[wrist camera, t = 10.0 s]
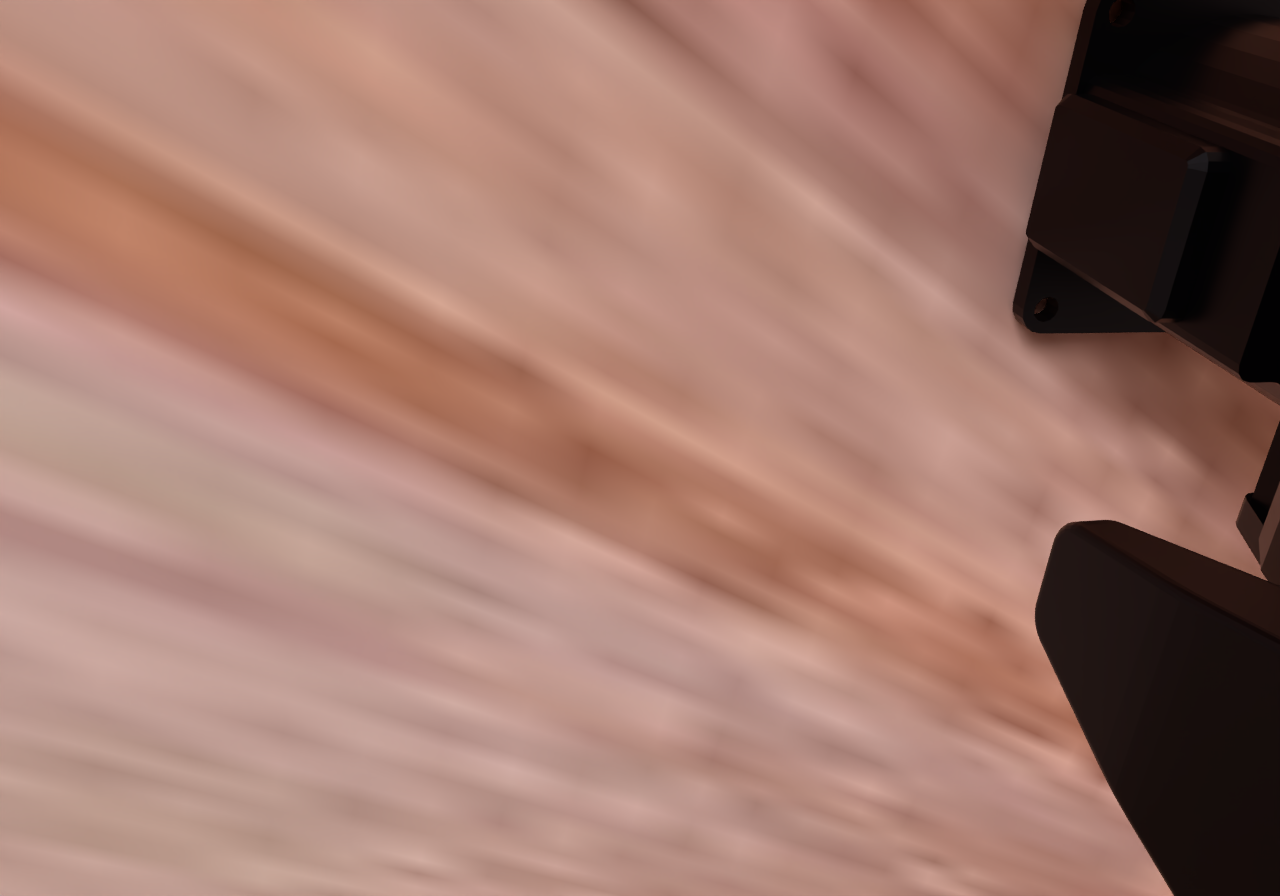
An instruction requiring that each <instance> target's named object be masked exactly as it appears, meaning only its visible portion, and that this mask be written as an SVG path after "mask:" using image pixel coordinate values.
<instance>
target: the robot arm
mask: <svg viewBox="0 0 1280 896" xmlns="http://www.w3.org/2000/svg"><path fill="white" fill-rule="evenodd" d="M1115 1H1116V0H1087V1H1086V4H1085V6H1084V10H1083V14H1082V18H1081V22H1080V26H1079V30H1078V35H1077V39H1076V43H1075V47H1074V51H1073V55H1072V60H1071V64H1070V68H1069V72H1068V76H1067V80H1066V85H1065V89H1064V93H1063V97H1062V100H1061V102H1060V103H1059V104H1058V105H1057V106H1056V108H1055V112H1054V116H1053V120H1052V125H1051V129H1050V133H1049V137H1048V141H1047V146H1046V150H1045V154H1044V158H1043V162H1042V167H1041V171H1040V175H1039V179H1038V183H1037V187H1036V192H1035V196H1034V200H1033V204H1032V208H1031V213H1030V217H1029V221H1028V225H1027V229H1026V235H1027V237H1028V243H1027V247H1026V251H1025V255H1024V259H1023V263H1022V268H1021V272H1020V276H1019V280H1018V284H1017V288H1016V293H1015V297H1014V301H1013V313H1014V316H1015V318H1016V319H1017V320H1018V321H1019V322H1020V323H1021V324H1023V325H1024V326H1025V327H1027V328H1028V329H1029V330H1031V331H1032V332H1036V333H1121V332H1167V333H1169V334H1170V335H1172V336H1173V337H1175V338H1176V339H1178V340H1180V341H1181V342H1183V343H1184V344H1186V345H1187V346H1189V347H1190V348H1192V349H1193V350H1195V351H1196V352H1198V353H1200V354H1201V355H1203V356H1204V357H1206V358H1207V359H1209V360H1210V361H1212V362H1213V363H1215V364H1217V365H1218V366H1220V367H1221V368H1223V369H1224V370H1226V371H1227V372H1229V373H1230V374H1232V375H1233V376H1235V377H1237V378H1238V379H1240V380H1241V381H1243V382H1244V383H1246V384H1247V385H1249V386H1250V387H1252V388H1254V389H1255V390H1257V391H1258V392H1260V393H1261V394H1263V395H1264V396H1266V397H1267V398H1269V399H1271V400H1272V401H1274V402H1275V403H1277V404H1278V405H1280V0H1122V11H1121V13H1120V15H1119V17H1118V18H1117V19H1116V20H1114V21H1113V22H1111V23H1110V21H1109V10H1110V8H1111V6H1112V4H1113V3H1114V2H1115ZM1047 297H1048V302H1047V304H1046V306H1045V308H1044V309H1043V310H1042V311H1041V312H1039V313H1036V314H1034V309H1035V307H1036V305H1037V303H1039V302H1040V301H1041V300H1042V299H1044V298H1047ZM1236 526H1237V528H1238V530H1239V531H1240V533H1241V535H1242V536H1243V538H1244V540H1245V541H1246V543H1247V544H1248V546H1249V548H1250V549H1251V551H1252V553H1253V554H1254V556H1255V558H1256V559H1257V561H1258V563H1259V564H1260V567H1261V571H1262V573H1263V574H1264V576H1265V577H1266V579H1267V580H1268V581H1266V580H1263V579H1261V578H1258V577H1256V576H1253V575H1251V574H1248V573H1246V572H1243V571H1241V570H1238V569H1236V568H1233V567H1231V566H1228V565H1226V564H1223V563H1221V562H1218V561H1216V560H1213V559H1211V558H1208V557H1206V556H1203V555H1201V554H1198V553H1196V552H1193V551H1190V550H1188V549H1185V548H1183V547H1180V546H1178V545H1175V544H1173V543H1170V542H1168V541H1165V540H1163V539H1160V538H1158V537H1155V536H1153V535H1150V534H1148V533H1145V532H1143V531H1140V530H1138V529H1135V528H1133V527H1130V526H1128V525H1125V524H1123V523H1120V522H1117V521H1112V520H1097V521H1080V522H1071V523H1068V524H1066V525H1065V526H1063V527H1062V528H1061V529H1060V530H1059V532H1058V533H1057V535H1056V537H1055V539H1054V542H1053V546H1052V549H1051V553H1050V556H1049V560H1048V563H1047V567H1046V571H1045V574H1044V578H1043V581H1042V585H1041V588H1040V592H1039V596H1038V599H1037V603H1036V608H1035V624H1036V629H1037V633H1038V636H1039V639H1040V641H1041V644H1042V646H1043V648H1044V650H1045V652H1046V654H1047V656H1048V658H1049V660H1050V663H1051V665H1052V667H1053V669H1054V671H1055V673H1056V675H1057V677H1058V680H1059V682H1060V684H1061V686H1062V688H1063V690H1064V692H1065V694H1066V697H1067V699H1068V701H1069V703H1070V705H1071V707H1072V709H1073V711H1074V713H1075V716H1076V718H1077V720H1078V722H1079V724H1080V726H1081V728H1082V730H1083V733H1084V735H1085V737H1086V739H1087V741H1088V743H1089V745H1090V747H1091V749H1092V752H1093V754H1094V756H1095V758H1096V760H1097V762H1098V764H1099V766H1100V768H1101V770H1102V772H1103V774H1104V776H1105V778H1106V780H1107V782H1108V784H1109V786H1110V788H1111V790H1112V792H1113V794H1114V796H1115V798H1116V799H1117V801H1118V803H1119V805H1120V806H1121V808H1122V810H1123V812H1124V813H1125V815H1126V817H1127V819H1128V820H1129V822H1130V824H1131V825H1132V827H1133V829H1134V830H1135V832H1136V834H1137V835H1138V837H1139V839H1140V840H1141V842H1142V844H1143V845H1144V847H1145V849H1146V850H1147V852H1148V854H1149V855H1150V857H1151V858H1152V860H1153V862H1154V863H1155V865H1156V867H1157V868H1158V870H1159V872H1160V873H1161V875H1162V877H1163V878H1164V880H1165V882H1166V883H1167V885H1168V887H1169V888H1170V890H1171V892H1172V893H1173V895H1174V896H1280V422H1279V424H1278V427H1277V430H1276V433H1275V435H1274V438H1273V441H1272V444H1271V447H1270V449H1269V452H1268V455H1267V458H1266V460H1265V463H1264V466H1263V469H1262V472H1261V474H1260V477H1259V480H1258V483H1257V485H1256V488H1255V491H1254V493H1248V494H1247V495H1246V496H1245V498H1244V501H1243V504H1242V507H1241V510H1240V512H1239V515H1238V518H1237V521H1236Z"/></svg>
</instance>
